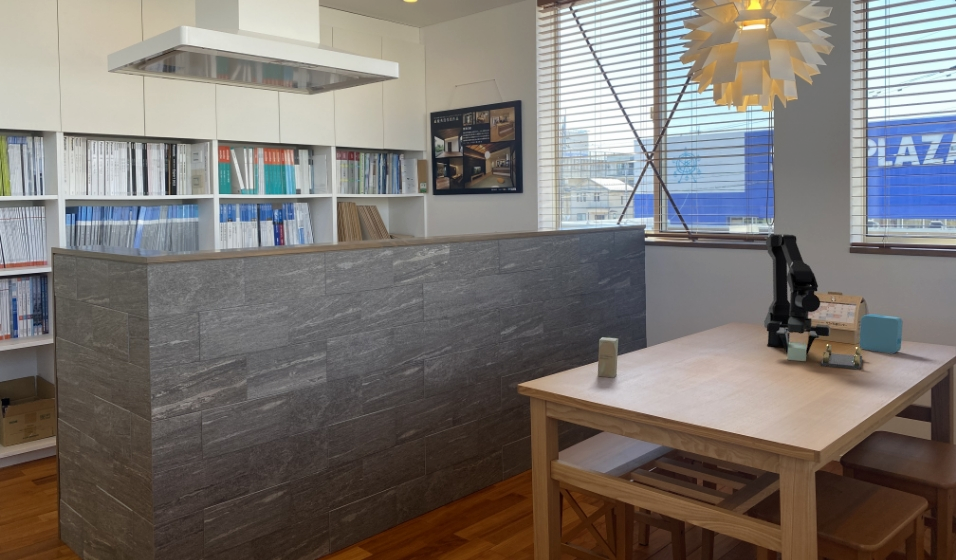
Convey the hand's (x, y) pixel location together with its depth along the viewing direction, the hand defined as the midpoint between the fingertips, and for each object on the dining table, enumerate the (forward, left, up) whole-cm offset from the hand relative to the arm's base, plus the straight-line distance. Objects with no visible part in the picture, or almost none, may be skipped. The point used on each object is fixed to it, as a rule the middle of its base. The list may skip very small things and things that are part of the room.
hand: (796, 354), depth 253 cm
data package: (+24, +26, -1) cm, 35 cm away
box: (-47, -53, -1) cm, 71 cm away
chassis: (+14, -1, -1) cm, 14 cm away
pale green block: (0, 0, -1) cm, 1 cm away
